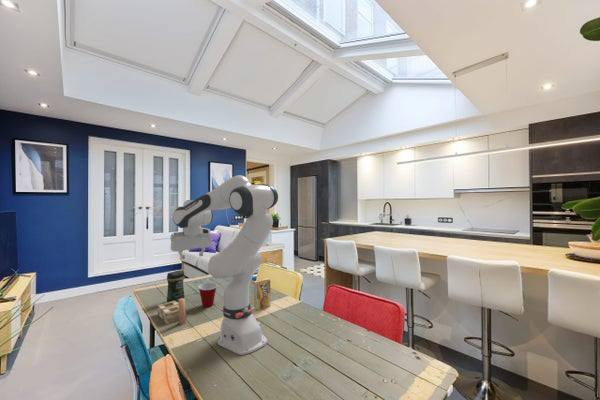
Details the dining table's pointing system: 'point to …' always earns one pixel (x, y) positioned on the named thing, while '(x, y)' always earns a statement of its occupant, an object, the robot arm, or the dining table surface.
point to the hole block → (169, 312)
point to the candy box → (261, 293)
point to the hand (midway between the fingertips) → (192, 257)
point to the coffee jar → (175, 286)
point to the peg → (181, 311)
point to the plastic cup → (207, 293)
